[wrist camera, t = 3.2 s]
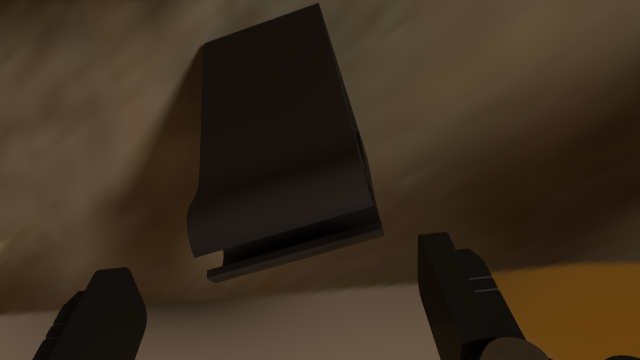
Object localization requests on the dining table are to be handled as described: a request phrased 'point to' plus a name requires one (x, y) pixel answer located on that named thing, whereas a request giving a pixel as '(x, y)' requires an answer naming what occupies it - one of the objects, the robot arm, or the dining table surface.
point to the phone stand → (278, 150)
